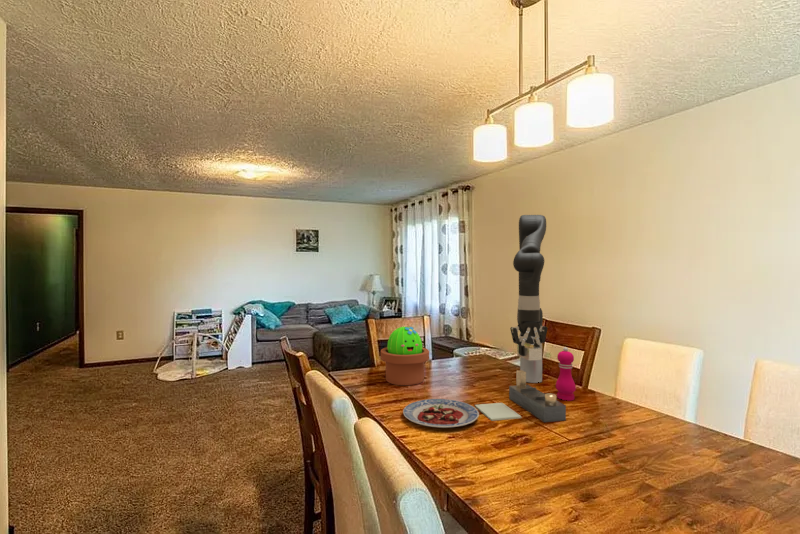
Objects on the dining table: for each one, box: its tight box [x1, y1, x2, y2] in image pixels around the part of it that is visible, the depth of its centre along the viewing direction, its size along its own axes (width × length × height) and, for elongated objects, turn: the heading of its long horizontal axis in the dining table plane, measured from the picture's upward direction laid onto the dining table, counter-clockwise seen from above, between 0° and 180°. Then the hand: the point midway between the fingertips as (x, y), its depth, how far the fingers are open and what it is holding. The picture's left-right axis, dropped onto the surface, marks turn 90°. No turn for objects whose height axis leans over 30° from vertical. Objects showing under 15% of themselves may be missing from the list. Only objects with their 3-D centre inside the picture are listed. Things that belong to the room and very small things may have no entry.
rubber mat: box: [474, 402, 522, 421], centre depth 140 cm, size 14×11×1 cm
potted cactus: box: [380, 325, 430, 386], centre depth 180 cm, size 22×22×25 cm
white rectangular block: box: [516, 343, 543, 361], centre depth 142 cm, size 8×5×5 cm, turn 13°
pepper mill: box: [555, 346, 577, 402], centre depth 155 cm, size 7×7×20 cm
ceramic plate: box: [402, 398, 480, 429], centre depth 135 cm, size 26×26×3 cm
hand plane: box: [508, 369, 567, 423], centre depth 143 cm, size 24×8×11 cm, turn 12°
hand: (529, 355), depth 142 cm, fingers closed on white rectangular block, 5 cm apart
